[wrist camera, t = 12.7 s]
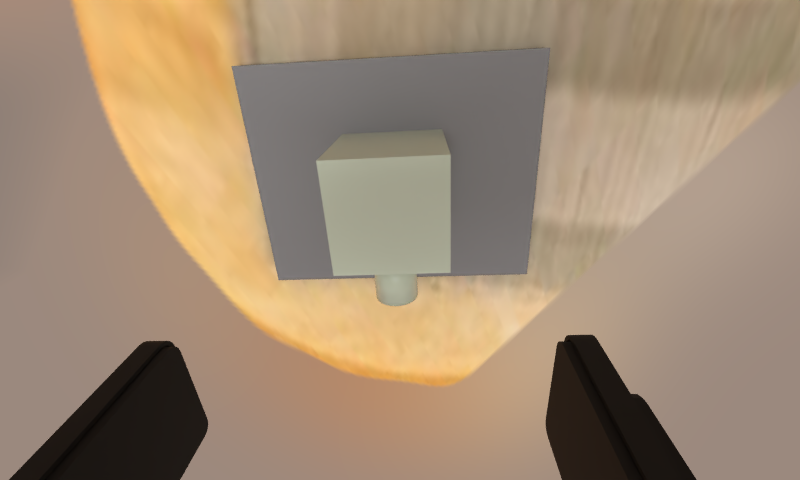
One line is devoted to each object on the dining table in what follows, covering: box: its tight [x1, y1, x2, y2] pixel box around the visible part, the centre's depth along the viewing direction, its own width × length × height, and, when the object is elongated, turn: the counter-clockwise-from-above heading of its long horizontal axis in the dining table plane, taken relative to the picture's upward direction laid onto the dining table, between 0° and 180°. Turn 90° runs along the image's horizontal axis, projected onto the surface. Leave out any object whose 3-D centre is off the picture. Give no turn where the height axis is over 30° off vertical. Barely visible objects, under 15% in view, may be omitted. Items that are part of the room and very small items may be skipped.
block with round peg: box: [316, 129, 451, 306], centre depth 25 cm, size 10×7×7 cm
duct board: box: [232, 48, 550, 280], centre depth 26 cm, size 20×16×6 cm
